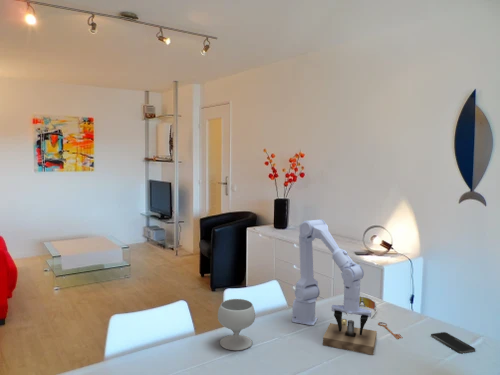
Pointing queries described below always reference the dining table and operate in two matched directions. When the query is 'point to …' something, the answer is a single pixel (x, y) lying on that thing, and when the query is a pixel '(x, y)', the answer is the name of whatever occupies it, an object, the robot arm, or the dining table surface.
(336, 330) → the hole block
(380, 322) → the key
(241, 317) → the chalice
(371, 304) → the sunglasses
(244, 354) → the dining table surface
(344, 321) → the short pin
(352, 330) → the long pin
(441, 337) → the phone
